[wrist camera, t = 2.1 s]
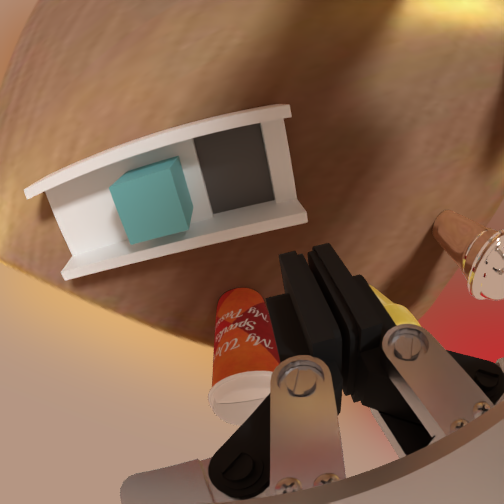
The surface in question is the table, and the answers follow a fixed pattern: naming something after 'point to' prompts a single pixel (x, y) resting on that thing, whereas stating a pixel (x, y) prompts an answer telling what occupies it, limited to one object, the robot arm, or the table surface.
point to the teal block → (153, 200)
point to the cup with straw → (473, 253)
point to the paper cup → (241, 355)
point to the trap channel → (198, 182)
